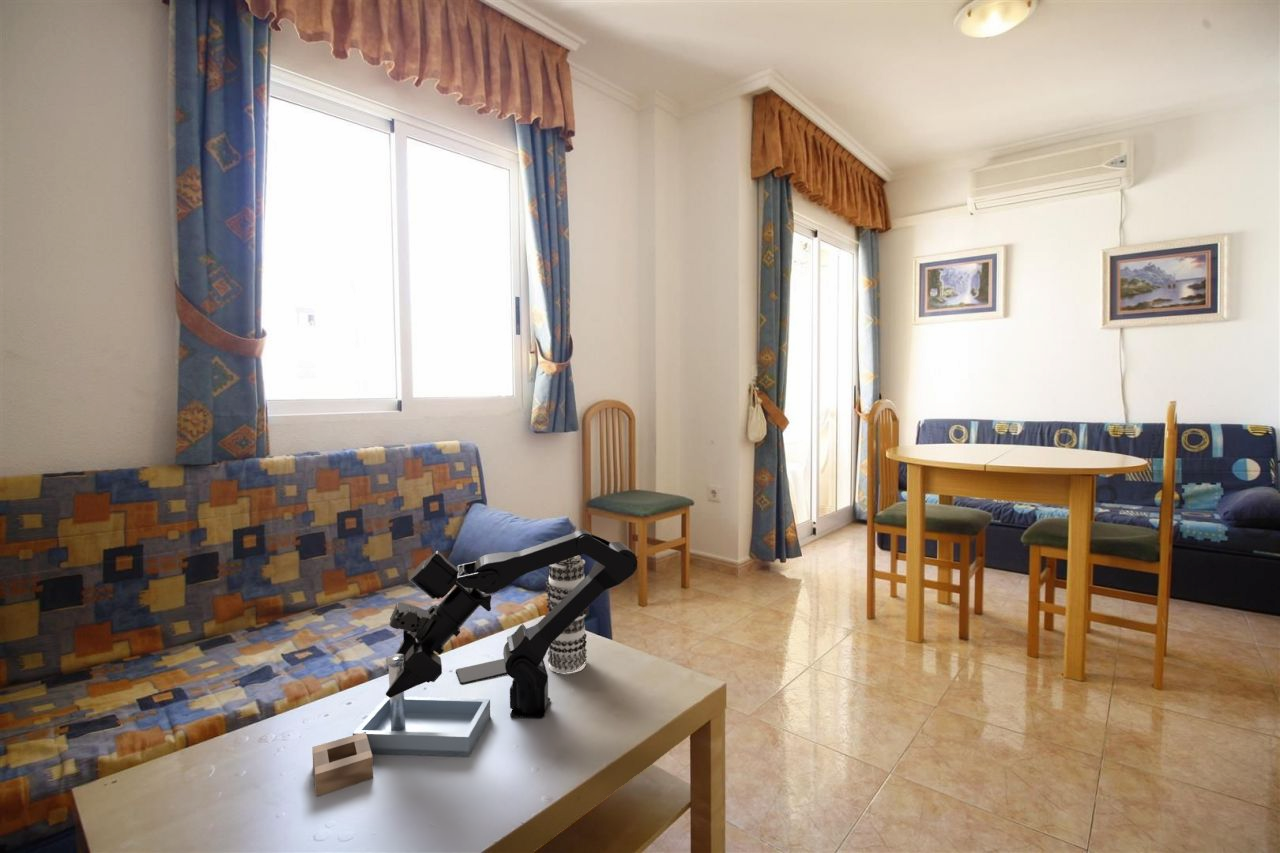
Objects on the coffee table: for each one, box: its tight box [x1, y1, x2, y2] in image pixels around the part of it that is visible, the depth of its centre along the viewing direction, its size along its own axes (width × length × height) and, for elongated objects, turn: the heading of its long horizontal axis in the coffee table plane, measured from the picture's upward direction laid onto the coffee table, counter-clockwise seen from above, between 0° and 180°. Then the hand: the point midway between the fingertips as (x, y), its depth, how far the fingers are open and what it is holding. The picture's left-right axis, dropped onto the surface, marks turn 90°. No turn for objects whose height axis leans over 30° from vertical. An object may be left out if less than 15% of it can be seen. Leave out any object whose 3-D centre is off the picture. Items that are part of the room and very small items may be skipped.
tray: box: [352, 696, 491, 758], centre depth 105 cm, size 20×12×4 cm, turn 87°
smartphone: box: [455, 658, 507, 685], centre depth 129 cm, size 7×1×15 cm
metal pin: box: [385, 653, 405, 731], centre depth 105 cm, size 3×3×13 cm
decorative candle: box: [545, 555, 588, 673], centre depth 131 cm, size 9×9×25 cm
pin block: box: [311, 732, 374, 797], centre depth 95 cm, size 8×8×4 cm
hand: (388, 683), depth 105 cm, fingers open, 9 cm apart
